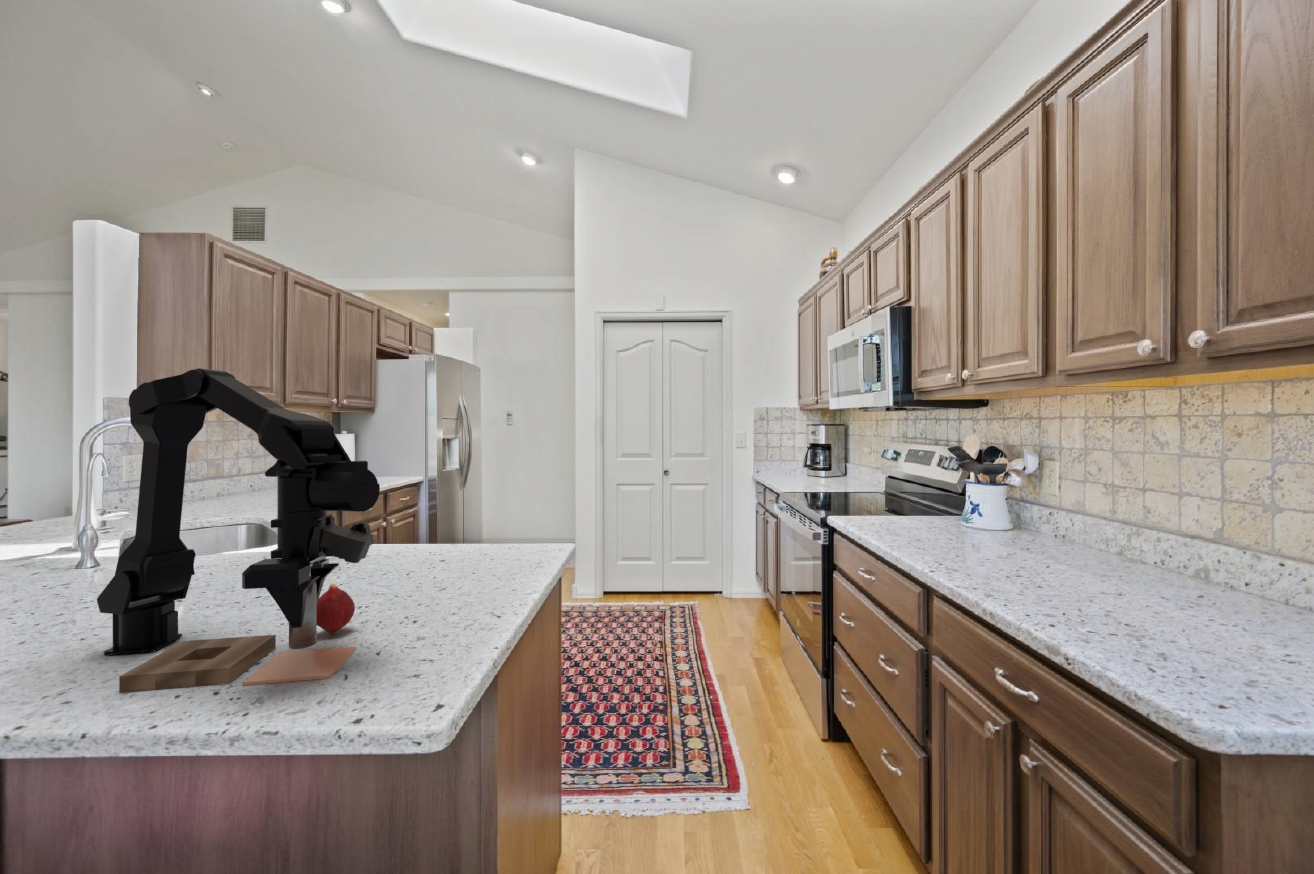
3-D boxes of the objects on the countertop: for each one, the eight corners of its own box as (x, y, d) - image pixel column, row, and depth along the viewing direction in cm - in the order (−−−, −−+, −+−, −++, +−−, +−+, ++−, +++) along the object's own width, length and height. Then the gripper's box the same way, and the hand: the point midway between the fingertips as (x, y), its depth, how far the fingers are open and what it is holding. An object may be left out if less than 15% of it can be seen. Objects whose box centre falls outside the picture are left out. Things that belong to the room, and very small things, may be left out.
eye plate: (119, 692, 67) (119, 676, 67) (183, 654, 79) (183, 640, 79) (229, 683, 70) (229, 667, 70) (275, 648, 81) (275, 634, 81)
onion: (362, 627, 90) (362, 579, 90) (338, 640, 84) (338, 589, 84) (329, 626, 91) (329, 578, 91) (303, 639, 85) (303, 588, 85)
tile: (242, 685, 69) (242, 682, 69) (280, 654, 79) (280, 651, 79) (328, 678, 71) (328, 675, 71) (355, 649, 81) (355, 646, 81)
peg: (310, 648, 74) (310, 581, 74) (284, 649, 73) (284, 582, 73) (320, 639, 77) (320, 575, 77) (295, 641, 76) (295, 576, 76)
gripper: (341, 517, 67) (341, 643, 67) (385, 500, 86) (385, 599, 86) (239, 520, 65) (239, 650, 65) (307, 502, 84) (307, 604, 83)
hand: (302, 622), depth 75 cm, fingers closed on peg, 3 cm apart
